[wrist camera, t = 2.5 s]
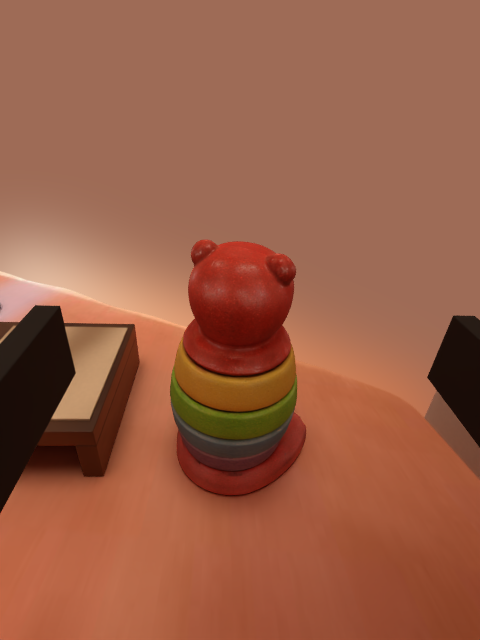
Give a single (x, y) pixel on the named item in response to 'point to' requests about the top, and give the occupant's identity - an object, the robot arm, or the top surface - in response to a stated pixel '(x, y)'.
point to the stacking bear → (237, 370)
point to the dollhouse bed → (93, 391)
